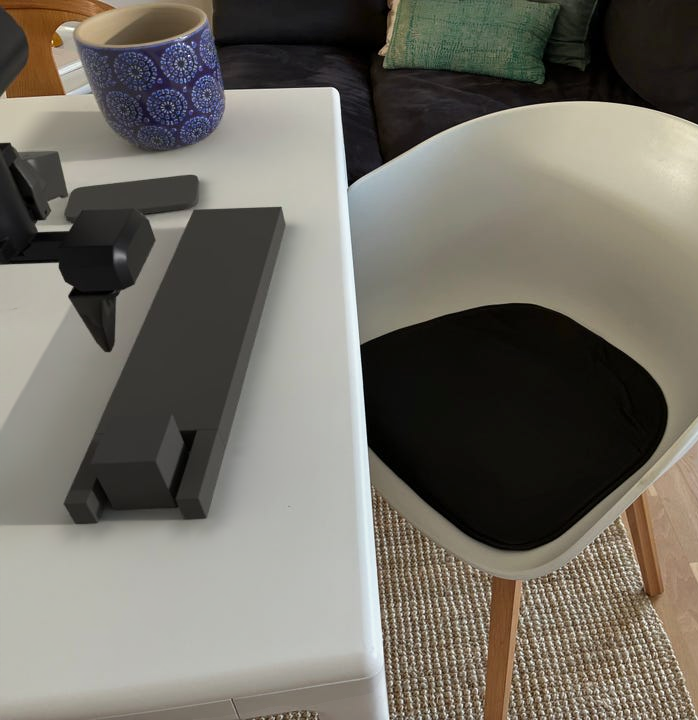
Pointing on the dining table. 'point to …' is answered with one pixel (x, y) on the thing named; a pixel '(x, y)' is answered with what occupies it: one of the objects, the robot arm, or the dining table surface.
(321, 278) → the dining table surface
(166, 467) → the pad block
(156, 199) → the phone
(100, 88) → the planter
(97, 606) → the dining table surface
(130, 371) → the base pad
